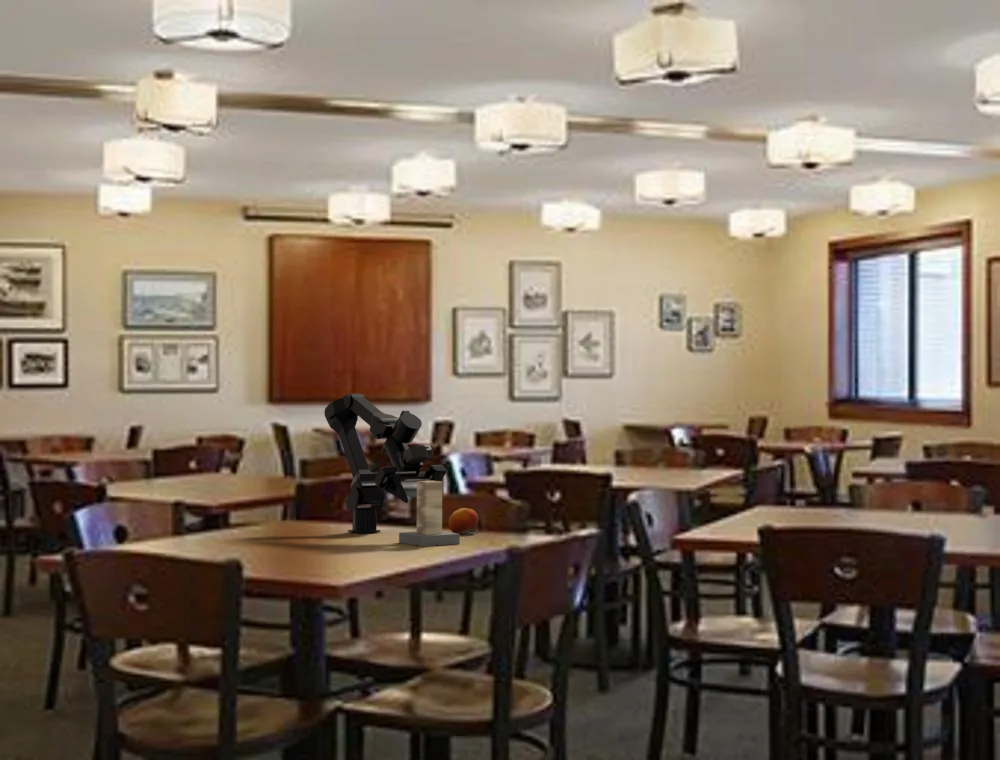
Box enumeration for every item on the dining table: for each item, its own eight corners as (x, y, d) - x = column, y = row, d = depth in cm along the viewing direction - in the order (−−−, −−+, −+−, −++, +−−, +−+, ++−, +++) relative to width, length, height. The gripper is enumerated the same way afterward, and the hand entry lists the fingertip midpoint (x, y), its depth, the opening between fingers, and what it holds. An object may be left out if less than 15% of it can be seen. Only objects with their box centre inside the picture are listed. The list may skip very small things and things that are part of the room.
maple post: (416, 533, 356) (416, 481, 356) (432, 532, 359) (432, 480, 359) (426, 534, 352) (426, 482, 352) (442, 533, 355) (442, 481, 355)
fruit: (471, 530, 373) (459, 504, 376) (451, 544, 377) (439, 517, 380) (490, 528, 380) (478, 502, 382) (470, 542, 384) (458, 515, 386)
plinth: (398, 542, 357) (399, 532, 357) (435, 540, 363) (435, 530, 363) (422, 546, 348) (422, 536, 348) (459, 544, 354) (459, 534, 354)
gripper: (380, 434, 357) (403, 481, 348) (442, 433, 368) (466, 479, 359) (364, 464, 363) (386, 510, 354) (426, 462, 374) (448, 507, 365)
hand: (422, 501), depth 358 cm, fingers open, 9 cm apart
